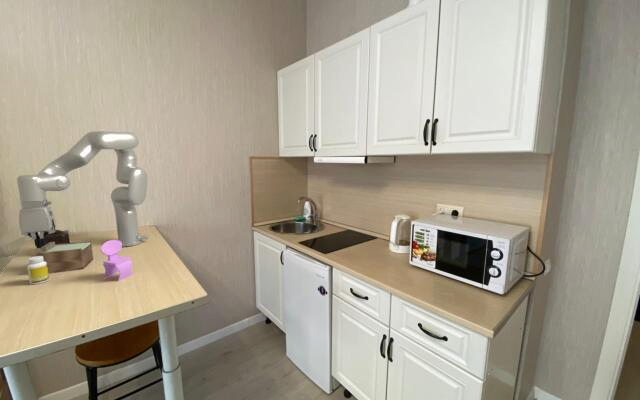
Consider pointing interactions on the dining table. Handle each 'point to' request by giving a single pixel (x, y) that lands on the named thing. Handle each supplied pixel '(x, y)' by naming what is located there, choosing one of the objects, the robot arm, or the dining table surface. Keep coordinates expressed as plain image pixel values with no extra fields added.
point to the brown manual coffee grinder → (58, 237)
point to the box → (68, 258)
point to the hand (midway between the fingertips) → (41, 247)
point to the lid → (62, 247)
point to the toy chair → (116, 260)
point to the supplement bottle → (37, 270)
